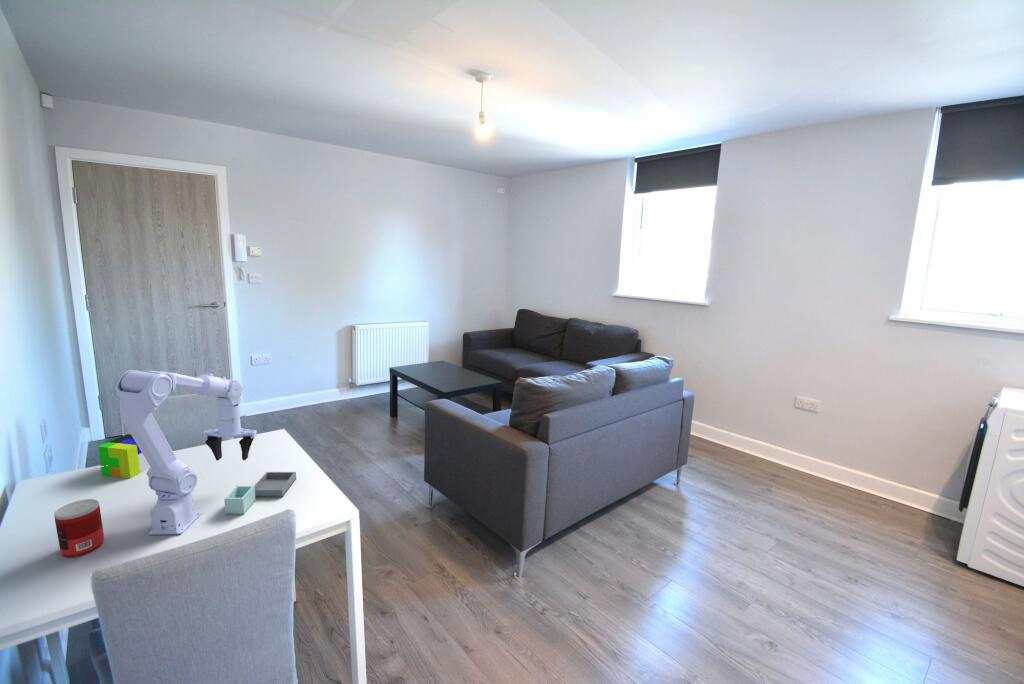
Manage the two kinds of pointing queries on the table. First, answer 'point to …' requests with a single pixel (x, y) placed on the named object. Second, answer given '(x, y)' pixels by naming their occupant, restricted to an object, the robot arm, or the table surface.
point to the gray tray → (274, 484)
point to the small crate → (239, 500)
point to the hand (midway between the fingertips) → (232, 459)
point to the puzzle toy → (122, 458)
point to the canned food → (79, 527)
